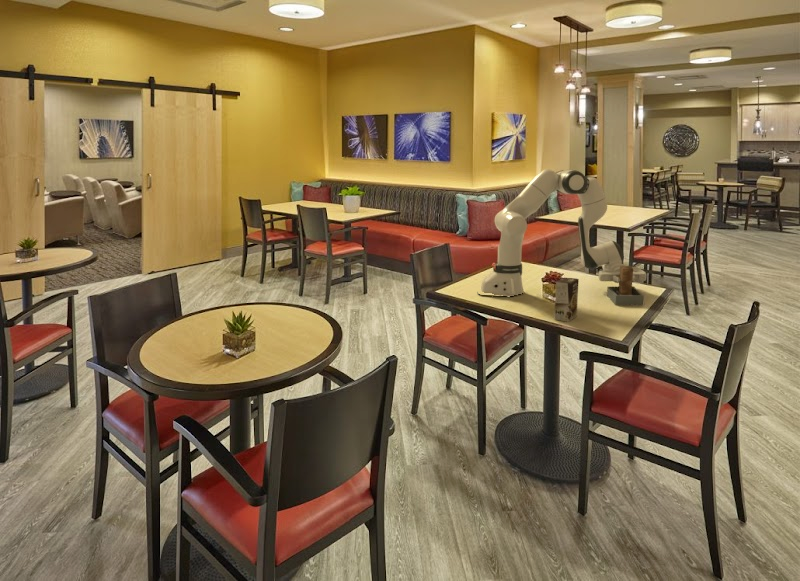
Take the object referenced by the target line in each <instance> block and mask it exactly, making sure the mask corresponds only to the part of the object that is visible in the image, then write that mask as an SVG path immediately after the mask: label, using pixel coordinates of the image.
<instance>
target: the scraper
mask: <svg viewBox="0 0 800 581" xmlns="http://www.w3.org/2000/svg"><path fill="white" fill-rule="evenodd" d="M631 266H632V265H630V266H620V278H621V282H619V283H618V287H619V291H616V294H617V295H632V294H631V292H632V286H633V282H632V280H633V268H632V267H631Z"/></svg>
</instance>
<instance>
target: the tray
mask: <svg viewBox="0 0 800 581" xmlns="http://www.w3.org/2000/svg"><path fill="white" fill-rule="evenodd" d="M606 290H607V291H606V296H607V298H610V301H611V302H612V303H613V304H614V305H615V306H644V301H645V300H644V299H645V294H643V293H642V292H641V291H639V290H638V289H637V288H636V287H635V286H633V285H632V292H631V294H632V295H617V294H616V291H619V286H607V288H606Z"/></svg>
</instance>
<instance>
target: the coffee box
mask: <svg viewBox="0 0 800 581" xmlns="http://www.w3.org/2000/svg"><path fill="white" fill-rule="evenodd" d="M578 296H579V278H573V277H562V278H560V279H558V280H557V281H556V282H555V299H554V302H555V303H554V318H553V319H554V320H556V321H560V322H561V321H562V322H566V321H567V322H566V323H569V322H571V321H572V320H573V319H575V318H576V317H577V316H578V315H577V314H578Z"/></svg>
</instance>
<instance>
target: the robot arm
mask: <svg viewBox="0 0 800 581" xmlns="http://www.w3.org/2000/svg"><path fill="white" fill-rule="evenodd" d="M554 192H558V193H561V194H564V195H577V197H578V199H579V201H580V205H581V214H580V216H579V217H578V220H577V225H578V226H577V227H578V238H579V244H580V245H579V246H580V260H581V264H582V265H583V267H584V268H586V269H589V270H593V269H596V268H598V267H602V270H598V271H599V272H596V273H595V274H596V276H598V281H600V282H614V283H616V284H619V282H621V278H620V266H631V267H632V268H633V280H632V283H635V282H646V280H647V272H646V271H644V270H642V268H640V267H639V266H637V265H636V266H635V265H630V264H624V263H623V262H624V259H625V254H624V252H623V248H622V247H621V245H620V244H619V243H617V242H616V241H614V240H610V241H606V242H603V243H601V244H598V245H595V246H590V245H591V244H590V236H589V231H590V229H591V228H592V227H593V225H594V224H596V223H597V222H599V221H600V220H601V219H602V218H603V217H604V216H605V214H606V213H607V210H608V203H607V198H606V195H605V193H604V190H603V187H602V185H601V183H600V181H599V179H598V178H596V177H594V176H593V177H592V176H591V177H587V176H585V174H584V173H582V171H579V170H574V169H562V170H559V171H556V172H555V171H554V170H552V169H550V168H545V169H542V171H540V172H539V173H538V174H537V175H535V177H533V178H532V179H531V180H530V182H529V183H528V184H527V185H526V186H525V187H524V188H523V190H522V191H521V192H520V193H519V194H518V195H517V196H516V197H515V198H514V199H513V200H512V201H510V202H509V203H508V204H507V205H506V206H505V207H504V208H503V209H502V210H500V211H499V212H497V213H496V214H495V216H494V225H495V227H496V229H497V230H498V231H499V232H500V239H499V244H498V246H497V262H496V263H495V262H493V263H492V265H491V267H492V270H493V271H491V272H490V273H489V274H488V275H487V276H485V277H483V279H482V282H481V285H480V287H481V291H482V292H484V293H492V294H494V295H503V296H514V295H517V296H519V295H518V294H521V295H523V294H525V291H524V286H523V281H522V280H523V279H522V276H523V263H522V250H523V249H522V248H523V242H524V238H525V233H526V231H527V229H528V223H527V220H526V219H527V218H529V217H530V216H531V215H533V214H535V213H536V212H537V211H538V210H539V209H540V208H541V207H542V206H543V204H544V203H545V202H546V201H547V200H548V198H550V196H551V194H553V193H554ZM522 293H523V294H522ZM514 297H515V296H514Z"/></svg>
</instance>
